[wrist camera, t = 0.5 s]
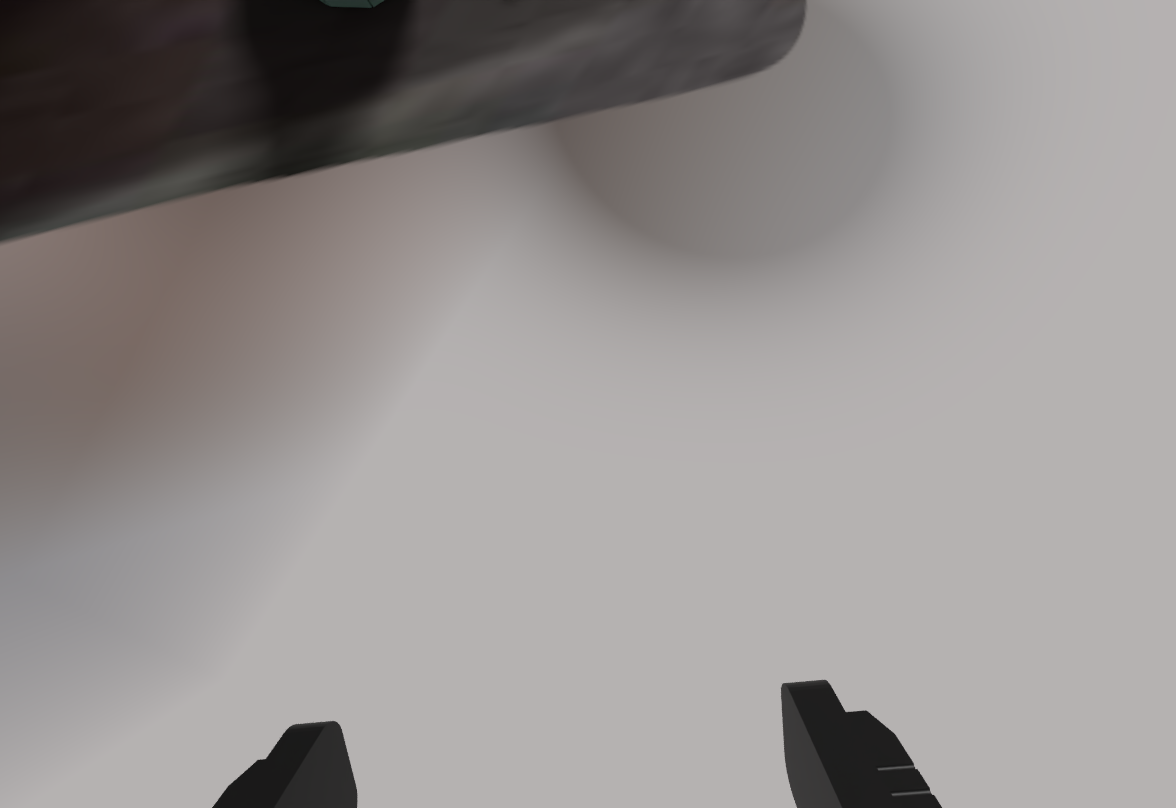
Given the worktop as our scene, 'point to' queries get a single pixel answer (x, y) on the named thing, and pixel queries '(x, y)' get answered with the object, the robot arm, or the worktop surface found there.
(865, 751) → the robot arm
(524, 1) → the worktop surface
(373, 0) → the holder pot
